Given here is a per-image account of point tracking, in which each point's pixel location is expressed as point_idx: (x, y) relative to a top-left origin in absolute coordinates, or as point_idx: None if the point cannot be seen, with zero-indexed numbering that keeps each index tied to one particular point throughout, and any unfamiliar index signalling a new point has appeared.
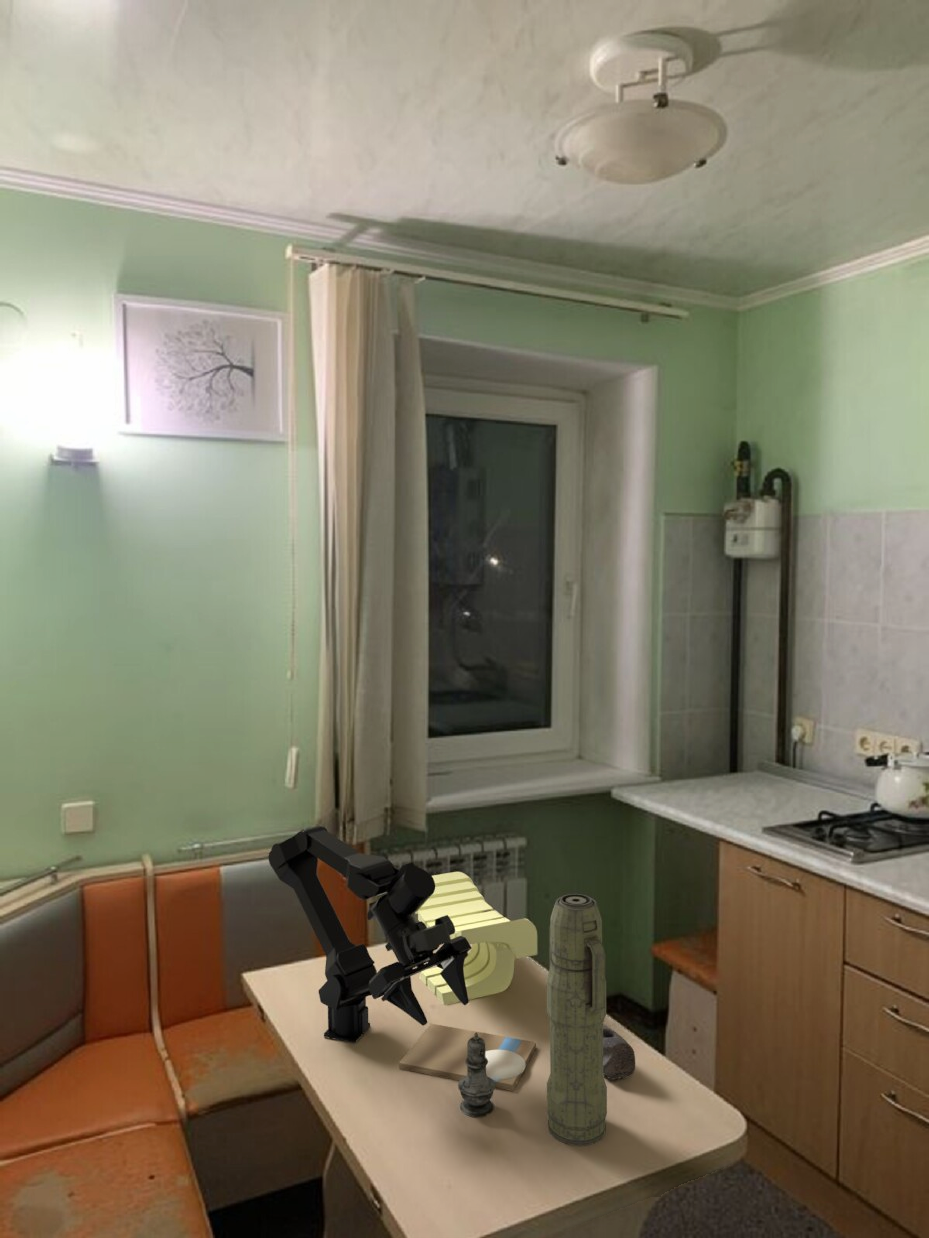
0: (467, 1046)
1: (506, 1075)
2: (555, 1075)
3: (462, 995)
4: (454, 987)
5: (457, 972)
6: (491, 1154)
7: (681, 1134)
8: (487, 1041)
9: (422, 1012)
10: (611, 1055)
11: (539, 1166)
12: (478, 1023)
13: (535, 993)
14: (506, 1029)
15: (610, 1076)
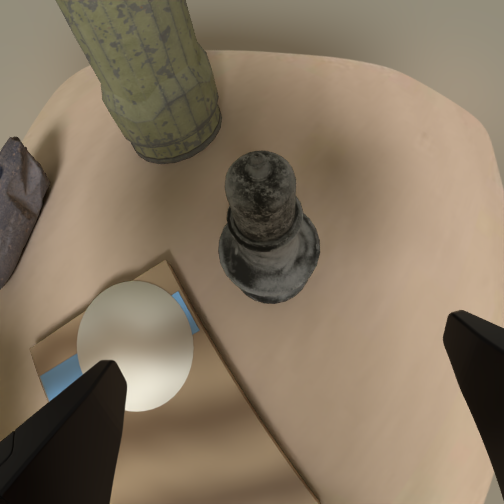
0: (290, 204)
1: (149, 295)
2: (192, 42)
3: (101, 400)
4: (92, 486)
5: (2, 489)
6: (336, 144)
7: None
8: None
9: (490, 334)
10: (29, 155)
11: (288, 95)
12: None
13: None
14: None
15: (48, 180)
